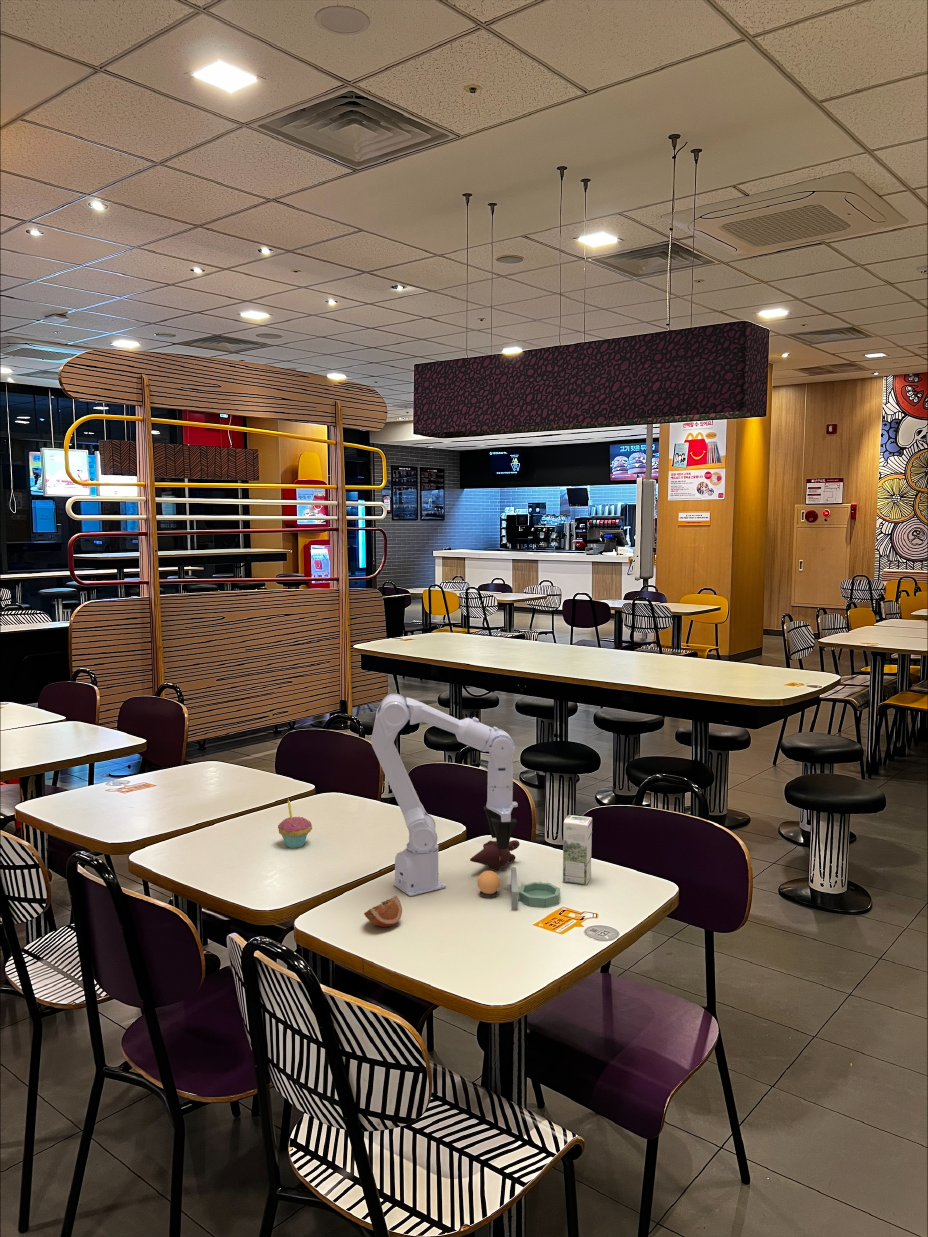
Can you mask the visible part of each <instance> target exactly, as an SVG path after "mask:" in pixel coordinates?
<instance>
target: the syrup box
mask: <svg viewBox="0 0 928 1237" xmlns="http://www.w3.org/2000/svg"><path fill="white" fill-rule="evenodd" d="M592 829H593V817H592V816H591V817H589V816H584V815H583V816H582V815H581V816H580V815H570V814H568V815H567V816H566V817H565V819H564V821H563V831H562V832H563V836H562V837H563V839H562V840H563V842H562V843H563V844H562V845H563V846H562V882H563V883H569V884H577V885H584V886H586V885H588V884H589V881H590V880H591V877H592V839H593V838H592V837H593V836H592V834H593V830H592Z"/></svg>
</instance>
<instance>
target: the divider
mask: <svg viewBox="0 0 928 1237" xmlns="http://www.w3.org/2000/svg"><path fill="white" fill-rule="evenodd" d="M517 872H518V871H517V867H513V866H510V895H511V896H510V898H511V900H510V901H511V902H510V903H511V910H512V911H518V901H519V891H518V875H517Z"/></svg>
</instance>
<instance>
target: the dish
mask: <svg viewBox="0 0 928 1237" xmlns="http://www.w3.org/2000/svg"><path fill="white" fill-rule="evenodd" d="M560 900H561V888H560V887H558V886H556V885H555V884H552V883H550V882H540V881H539V882H538V881H532V882H528V883H524V884H521V885H520V888H519V891H518V901H519V902H521V903H522V904H525V905H526V906H527V907H533V908H543V909H545V908H549V907H552V906H556V905H558V904H559V903H560Z"/></svg>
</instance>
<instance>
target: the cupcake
mask: <svg viewBox="0 0 928 1237" xmlns="http://www.w3.org/2000/svg"><path fill="white" fill-rule="evenodd" d="M291 805H292V804H291V801H290V800H289V798H287V807H288V814H289V817H287V818H284V819H283V820H282V821H281V822H280V823H279V824H278V825H277V829H278V833H279V835H281V837H282V840H283V841H284V845H285V847H287V848H290V849H291V848H292V849H297V848H302V847H304V846H305V842H306V839H307V836H308V835H309V833H310V832H311V831H312V830H313V825H312V822H311V821H310V820H308V819H306V818H305V817H301V816H293V810H292V806H291Z"/></svg>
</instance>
